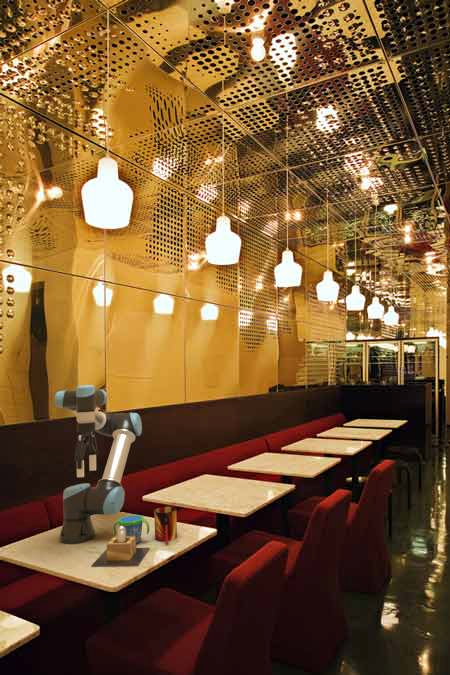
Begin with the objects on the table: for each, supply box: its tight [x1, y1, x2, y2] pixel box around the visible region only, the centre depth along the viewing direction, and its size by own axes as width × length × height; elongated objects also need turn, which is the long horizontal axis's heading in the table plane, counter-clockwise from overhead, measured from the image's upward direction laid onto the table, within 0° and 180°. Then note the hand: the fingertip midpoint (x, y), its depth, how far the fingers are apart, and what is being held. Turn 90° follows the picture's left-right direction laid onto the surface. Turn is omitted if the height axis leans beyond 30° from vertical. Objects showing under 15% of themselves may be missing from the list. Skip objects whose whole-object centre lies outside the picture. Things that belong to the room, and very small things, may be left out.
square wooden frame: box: [106, 536, 137, 561], centre depth 186 cm, size 9×9×6 cm
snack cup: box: [112, 514, 150, 545], centre depth 203 cm, size 16×10×10 cm
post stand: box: [91, 525, 151, 568], centre depth 186 cm, size 18×18×12 cm
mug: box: [153, 506, 178, 543], centre depth 205 cm, size 10×14×12 cm
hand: (86, 473), depth 195 cm, fingers open, 13 cm apart
